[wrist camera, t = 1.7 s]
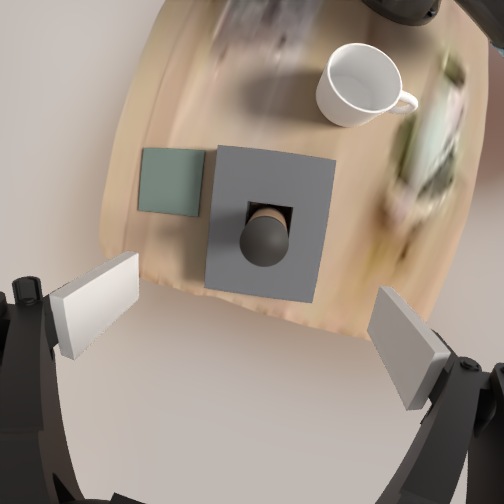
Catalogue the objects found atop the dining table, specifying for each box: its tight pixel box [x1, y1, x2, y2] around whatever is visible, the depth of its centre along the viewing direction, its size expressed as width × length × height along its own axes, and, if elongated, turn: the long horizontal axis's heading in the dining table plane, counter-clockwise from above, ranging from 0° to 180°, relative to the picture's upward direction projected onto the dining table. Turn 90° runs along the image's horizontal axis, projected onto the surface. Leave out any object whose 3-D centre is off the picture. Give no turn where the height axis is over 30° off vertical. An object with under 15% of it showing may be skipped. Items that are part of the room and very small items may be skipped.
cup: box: [316, 43, 418, 127], centre depth 28 cm, size 8×12×10 cm
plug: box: [239, 205, 289, 267], centre depth 32 cm, size 4×4×13 cm
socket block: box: [204, 145, 336, 303], centre depth 36 cm, size 18×14×4 cm
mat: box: [139, 148, 205, 217], centre depth 38 cm, size 9×9×1 cm
